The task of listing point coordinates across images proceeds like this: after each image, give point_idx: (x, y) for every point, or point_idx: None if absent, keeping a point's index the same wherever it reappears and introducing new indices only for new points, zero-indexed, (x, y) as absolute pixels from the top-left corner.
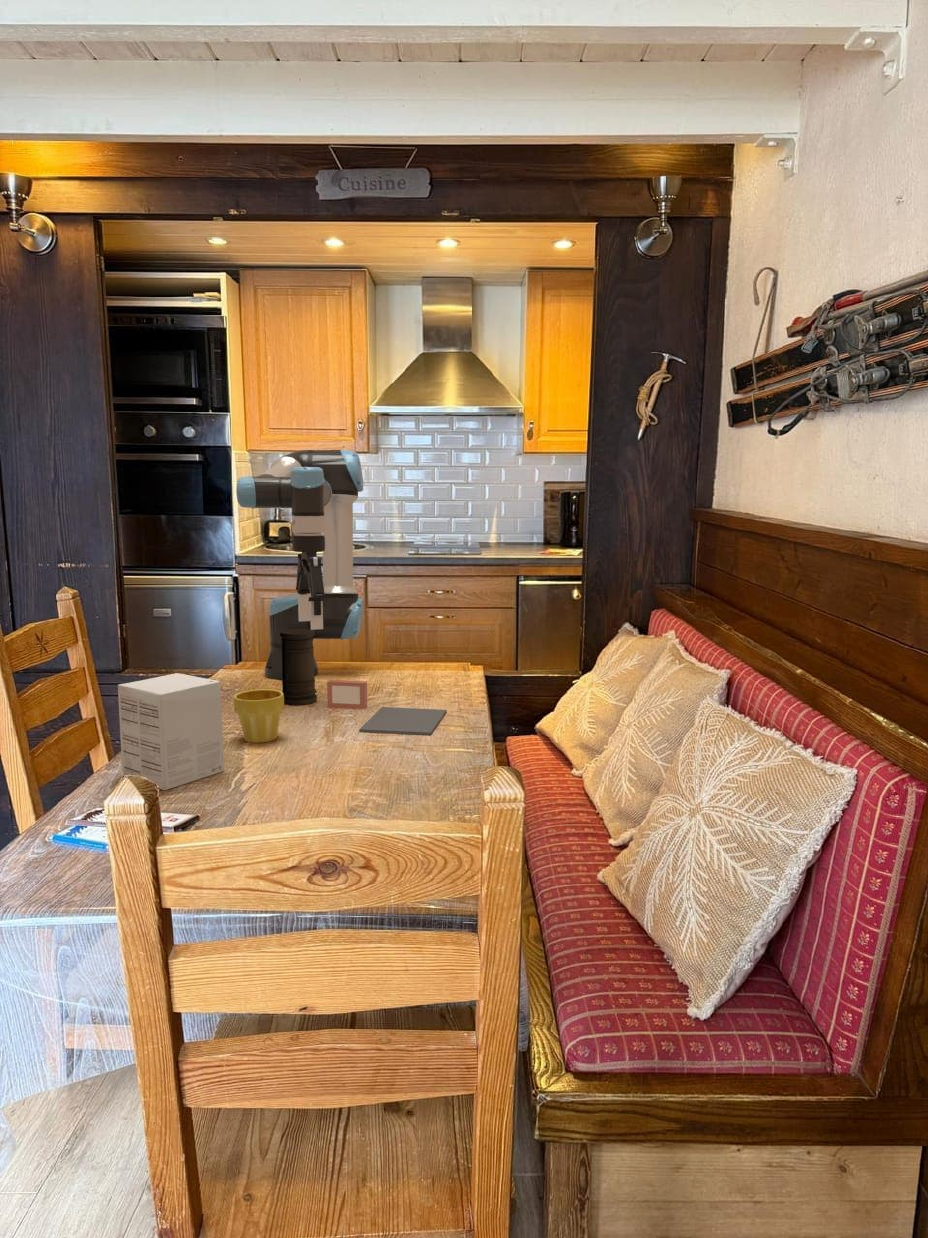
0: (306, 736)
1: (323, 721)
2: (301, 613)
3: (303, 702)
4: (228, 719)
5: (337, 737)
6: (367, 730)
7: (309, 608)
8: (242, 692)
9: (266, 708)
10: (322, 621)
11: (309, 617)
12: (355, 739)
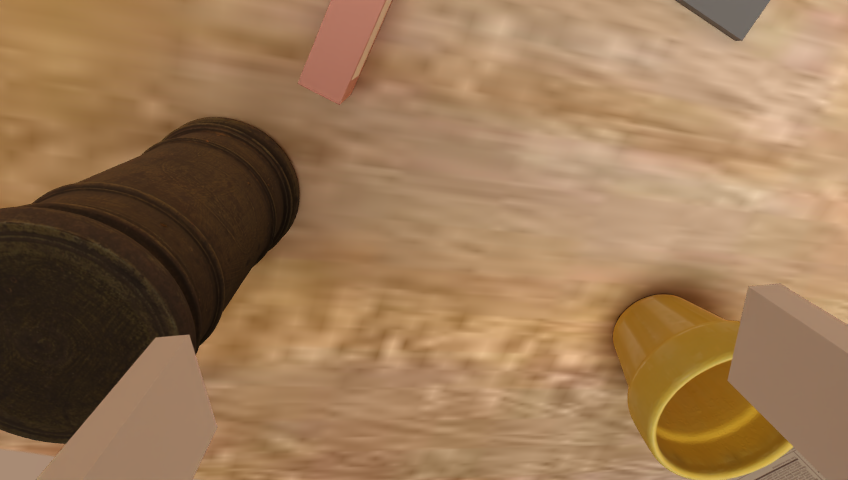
0: (692, 215)
1: (548, 140)
2: (179, 476)
3: (297, 181)
4: (421, 395)
5: (753, 126)
6: (761, 10)
7: (117, 447)
8: (664, 460)
9: None
10: (845, 329)
11: (176, 366)
12: (807, 73)
